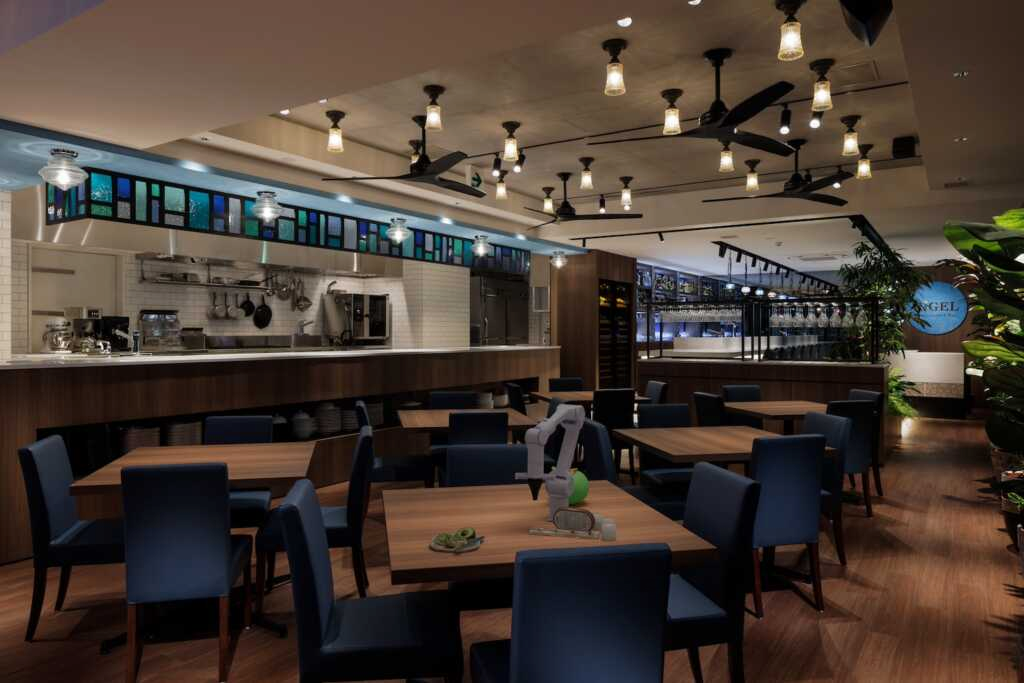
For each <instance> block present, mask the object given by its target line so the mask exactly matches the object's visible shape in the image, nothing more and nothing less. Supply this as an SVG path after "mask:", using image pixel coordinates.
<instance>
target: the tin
mask: <svg viewBox="0 0 1024 683" xmlns="http://www.w3.org/2000/svg"><path fill="white" fill-rule="evenodd" d="M592 513H593V512H591V511H590V510H588V509H586V508H580V507H579V508H577V507H561V508H559V509H557V510H556V512H555V513H554V515H553V521H552V522H553V525H554V526H555V527H556V528H555V529H561V530H576V531H584V532H587V531H593V530H592V529H593V527H594V525H595V518H594V516H593V514H592Z"/></svg>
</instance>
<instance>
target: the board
mask: <svg viewBox="0 0 1024 683" xmlns="http://www.w3.org/2000/svg"><path fill="white" fill-rule="evenodd" d="M528 534H529V535H530V534H538V535H537V536H544V535H550V536H549V537H557V536H566V537H565V538H571V537H579V538H578V539H584V538H587V540H588V539H589V540H599V538H600V532H595V531H593V530H591V531H587V532H584V531H576V530H561V529H557V528H543V527H531V528H530V530H529V531H528Z"/></svg>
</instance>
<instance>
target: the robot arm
mask: <svg viewBox="0 0 1024 683" xmlns="http://www.w3.org/2000/svg"><path fill="white" fill-rule="evenodd" d="M555 408H556V409H555V412H554V413H553V414H552V415H551V417H549V418H543V419H542V420H541V422H539V423H538V424H537V425H536V426H535V427H533V428H532V427H531V428H529V429H527V430H526V431H525V436H524V441H525V443H526V449H527V472H515V474H514V475H515V476H514V477H515V478H514V479H515V480H526V482H527V485H528V488H529V489H530V493H531V497H532V501H538V498H539V493H540V490H541V488H542V485H543V483H544V490H545V492H546V493H547V496H549V504H548V505H549V507H548V509H549V511H548V513H549V514H548V517H547V519H546V521H547V522H553V515H554V513H555V512H556V510H557V509H559V508H561V507H569V506H570V504H569V500H568V499H569V496H570V495H571V494H572V492H573V488H574V486H573V484H574V478H573V476H572V475H571V474H570V473H569V471H570V469H571V467H572V462H573V458H574V455H575V450H576V447H577V443H578V439H579V434H580V430H581V429H582V428H583V425H584V421H585V417H586V412H585V408H584V406H583V405H581V404H579V405H577V404H576V405H575V404H563V403H559V404H558V406H556V407H555ZM559 424H560V425H561V427H562V428H564V429H565V432H564V436H563V440H562V445H561V447H560V452H559V455H558V458H557V463H556V469H555V470H551V471H550V472H549V473H544V469H545V468H544V464H545V463H544V461H545V458H544V455H545V454H544V453H545V445H546V444H547V442H548V439H549V437H550V435H552V434H553V433H554V432H555V431H556V430H557V429H556V428H557V425H559ZM544 481H545V482H544Z"/></svg>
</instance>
